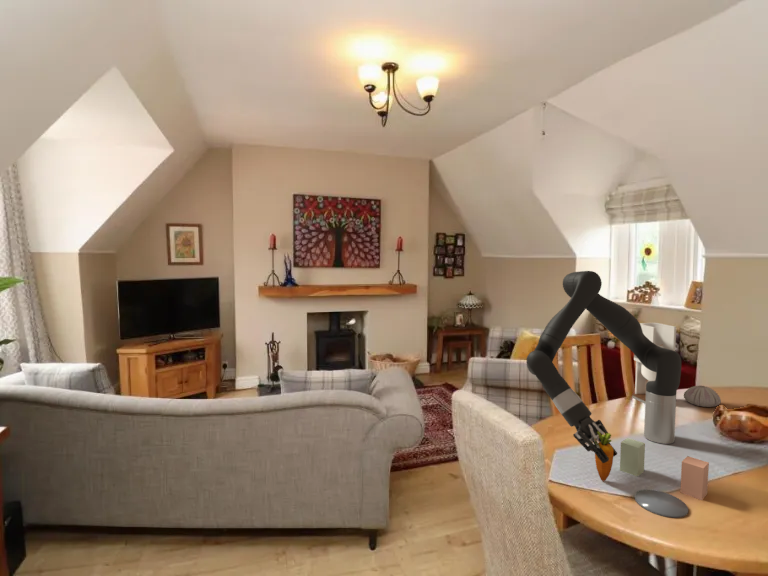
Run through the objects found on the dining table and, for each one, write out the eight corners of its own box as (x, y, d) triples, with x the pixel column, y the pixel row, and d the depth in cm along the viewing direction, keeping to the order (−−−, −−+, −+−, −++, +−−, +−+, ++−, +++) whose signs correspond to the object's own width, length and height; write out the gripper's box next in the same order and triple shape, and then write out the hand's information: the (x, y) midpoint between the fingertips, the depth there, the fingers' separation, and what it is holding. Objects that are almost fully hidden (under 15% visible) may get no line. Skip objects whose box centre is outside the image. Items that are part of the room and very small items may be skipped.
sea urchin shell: (688, 407, 185) (689, 389, 184) (679, 397, 198) (680, 380, 197) (725, 410, 180) (726, 392, 180) (713, 400, 193) (714, 383, 192)
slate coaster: (644, 486, 122) (644, 484, 122) (694, 505, 113) (694, 503, 113) (627, 502, 115) (627, 500, 115) (679, 523, 105) (679, 521, 105)
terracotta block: (686, 486, 122) (687, 456, 122) (707, 493, 118) (708, 462, 118) (680, 492, 119) (681, 461, 118) (701, 500, 115) (703, 468, 115)
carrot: (590, 477, 128) (591, 428, 126) (606, 476, 128) (607, 428, 127) (600, 486, 123) (601, 435, 121) (616, 485, 123) (618, 435, 122)
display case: (632, 397, 197) (635, 323, 194) (653, 396, 198) (656, 322, 196) (650, 406, 186) (653, 327, 183) (672, 405, 187) (676, 326, 184)
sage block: (626, 465, 135) (627, 437, 134) (643, 471, 131) (645, 443, 130) (619, 470, 132) (620, 442, 131) (637, 476, 128) (638, 447, 127)
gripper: (568, 406, 125) (609, 461, 116) (591, 395, 134) (630, 445, 126) (551, 418, 129) (589, 472, 121) (574, 407, 138) (611, 456, 130)
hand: (610, 458), depth 123 cm, fingers closed on carrot, 5 cm apart
